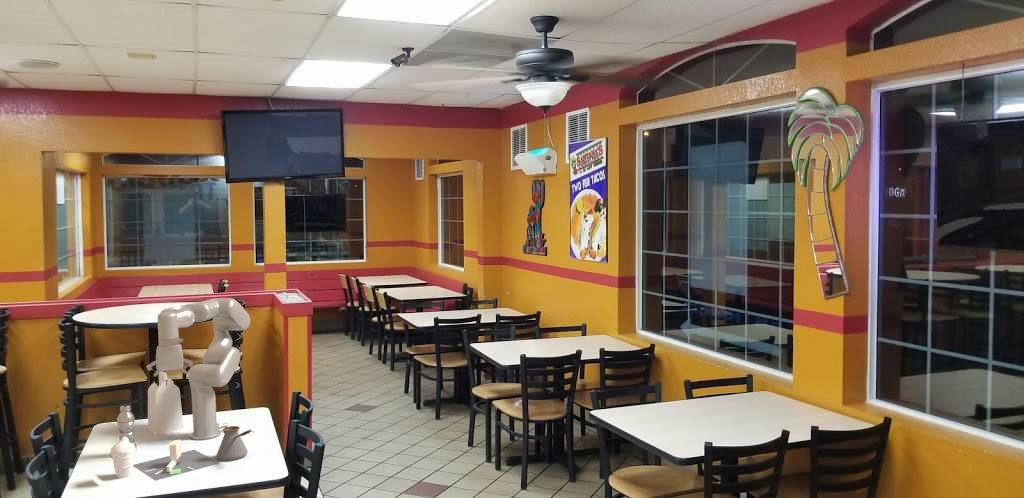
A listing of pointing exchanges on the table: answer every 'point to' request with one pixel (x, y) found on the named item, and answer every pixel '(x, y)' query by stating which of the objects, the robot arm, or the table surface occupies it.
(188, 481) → the table surface
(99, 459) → the table surface
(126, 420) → the plastic bottle
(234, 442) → the coffee pot
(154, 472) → the plate
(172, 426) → the milk
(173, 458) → the peg head
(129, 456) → the soft serve ice cream cone
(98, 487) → the table surface
